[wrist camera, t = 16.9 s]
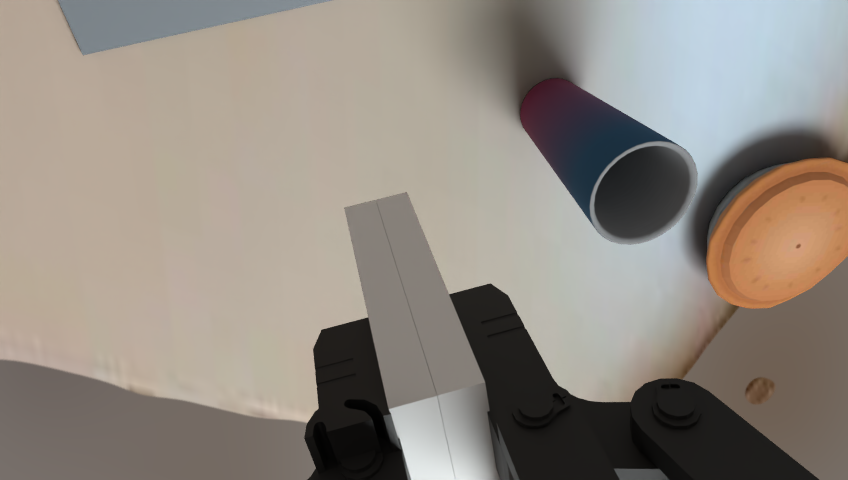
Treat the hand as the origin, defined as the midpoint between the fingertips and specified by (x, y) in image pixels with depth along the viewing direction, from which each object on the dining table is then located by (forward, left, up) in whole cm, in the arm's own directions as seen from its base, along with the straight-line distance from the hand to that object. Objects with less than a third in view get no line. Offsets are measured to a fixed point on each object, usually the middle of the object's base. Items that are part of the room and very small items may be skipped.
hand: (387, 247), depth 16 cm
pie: (-36, +28, -33) cm, 56 cm away
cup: (-16, +12, -33) cm, 38 cm away
